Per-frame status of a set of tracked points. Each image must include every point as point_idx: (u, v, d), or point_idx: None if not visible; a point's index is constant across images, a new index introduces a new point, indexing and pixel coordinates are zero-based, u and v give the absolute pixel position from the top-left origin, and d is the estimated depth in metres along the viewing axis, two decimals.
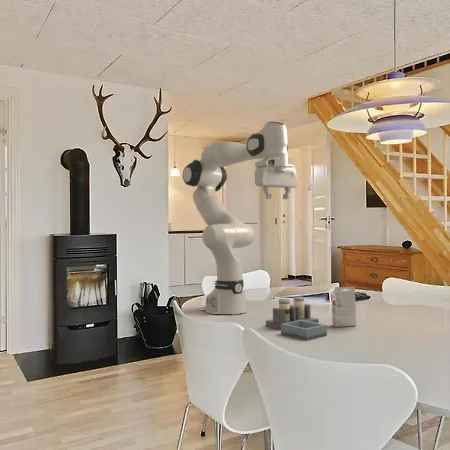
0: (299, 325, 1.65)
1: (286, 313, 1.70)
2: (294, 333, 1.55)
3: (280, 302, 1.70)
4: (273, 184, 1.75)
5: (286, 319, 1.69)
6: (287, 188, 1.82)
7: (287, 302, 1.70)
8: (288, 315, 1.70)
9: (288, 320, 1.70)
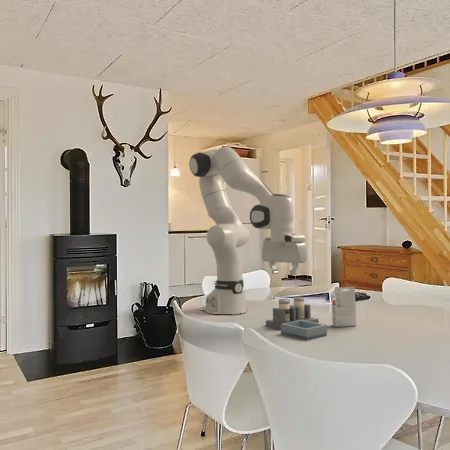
0: (299, 325, 1.65)
1: (286, 313, 1.70)
2: (294, 333, 1.55)
3: (280, 302, 1.70)
4: None
5: (286, 319, 1.69)
6: (274, 262, 1.76)
7: (287, 302, 1.70)
8: (288, 315, 1.70)
9: (288, 320, 1.70)
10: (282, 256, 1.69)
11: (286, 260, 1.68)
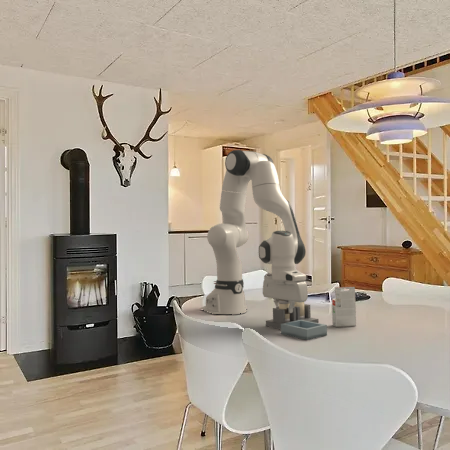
0: (299, 325, 1.65)
1: (286, 313, 1.70)
2: (294, 333, 1.55)
3: (280, 302, 1.70)
4: None
5: (286, 319, 1.69)
6: None
7: (287, 302, 1.70)
8: (288, 315, 1.70)
9: (288, 320, 1.70)
10: (283, 293, 1.69)
11: (287, 298, 1.68)
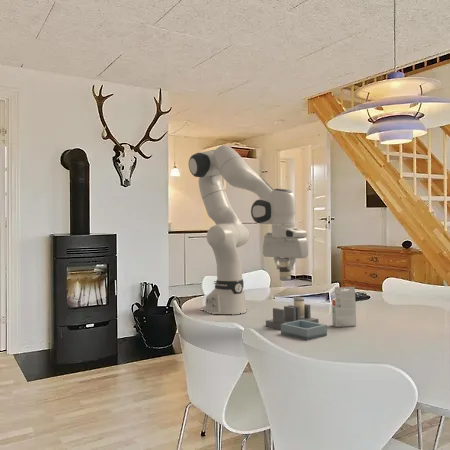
0: (299, 325, 1.65)
1: (287, 271, 1.68)
2: (294, 333, 1.55)
3: (280, 260, 1.69)
4: None
5: (286, 276, 1.68)
6: None
7: (287, 260, 1.69)
8: (289, 273, 1.69)
9: (289, 278, 1.69)
10: (283, 251, 1.68)
11: (287, 255, 1.67)
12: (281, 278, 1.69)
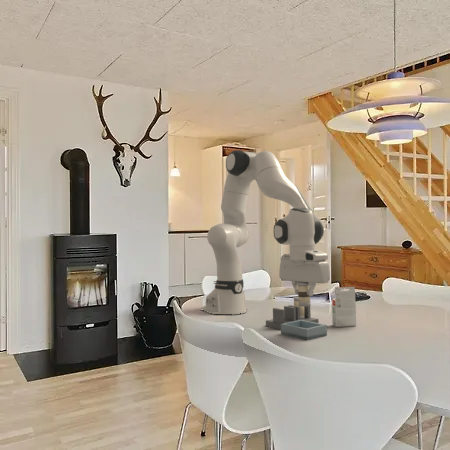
0: (299, 325, 1.65)
1: (306, 296, 1.57)
2: (294, 333, 1.55)
3: (299, 284, 1.57)
4: None
5: (306, 302, 1.57)
6: (297, 281, 1.62)
7: (307, 284, 1.57)
8: (308, 298, 1.57)
9: (308, 304, 1.57)
10: (302, 275, 1.57)
11: (307, 280, 1.55)
12: (300, 304, 1.58)
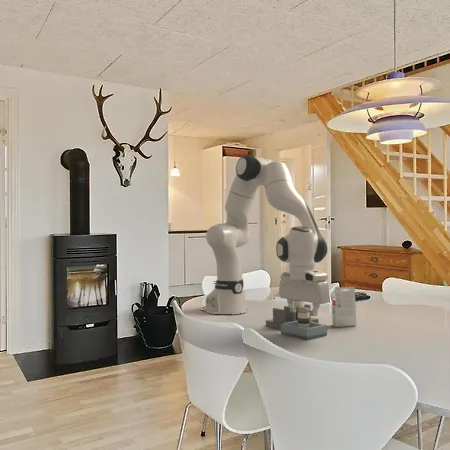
0: None
1: (306, 323, 1.57)
2: (294, 333, 1.55)
3: (299, 311, 1.58)
4: None
5: None
6: (293, 299, 1.63)
7: (307, 311, 1.57)
8: (308, 325, 1.57)
9: None
10: (302, 294, 1.57)
11: (306, 300, 1.55)
12: None
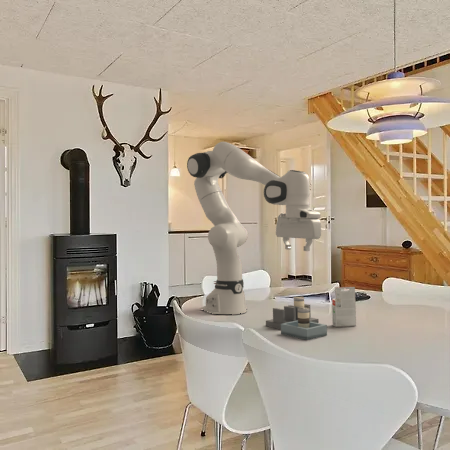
0: None
1: (306, 323, 1.57)
2: (294, 333, 1.55)
3: (299, 311, 1.58)
4: None
5: None
6: (288, 238, 1.77)
7: (307, 311, 1.57)
8: (308, 325, 1.57)
9: None
10: (296, 232, 1.71)
11: (300, 236, 1.69)
12: None
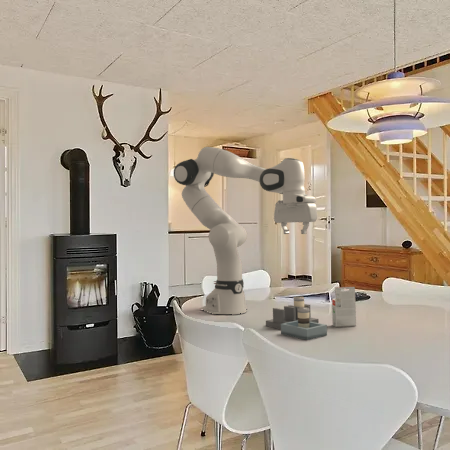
0: None
1: (306, 323, 1.57)
2: (294, 333, 1.55)
3: (299, 311, 1.58)
4: None
5: None
6: (286, 223, 1.87)
7: (307, 311, 1.57)
8: (308, 325, 1.57)
9: None
10: (293, 216, 1.81)
11: (297, 220, 1.79)
12: None
